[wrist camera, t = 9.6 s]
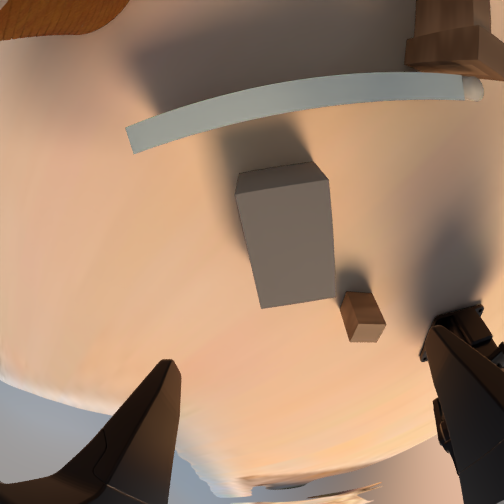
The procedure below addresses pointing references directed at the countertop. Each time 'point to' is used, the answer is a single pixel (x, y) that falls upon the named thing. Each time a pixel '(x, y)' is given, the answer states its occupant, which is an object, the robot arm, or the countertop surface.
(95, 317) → the countertop surface
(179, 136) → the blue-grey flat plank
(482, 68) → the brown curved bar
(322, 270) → the grey rectangular block
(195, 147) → the countertop surface
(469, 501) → the robot arm
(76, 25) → the disposable coffee cup
